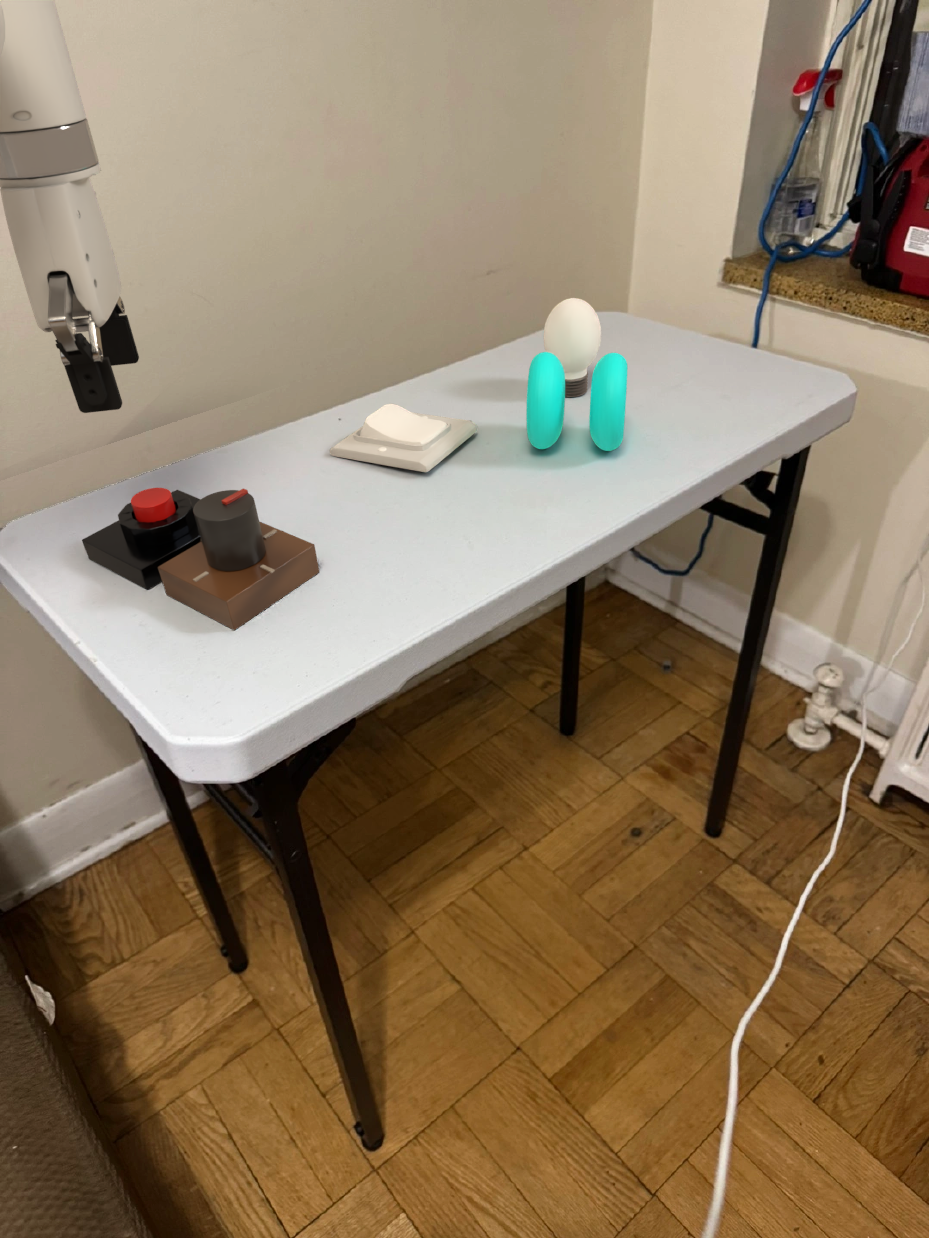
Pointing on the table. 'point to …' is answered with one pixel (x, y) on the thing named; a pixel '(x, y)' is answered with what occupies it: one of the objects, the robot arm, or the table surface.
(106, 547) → the switch block
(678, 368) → the table surface
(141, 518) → the power button
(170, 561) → the dimmer panel
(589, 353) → the light bulb
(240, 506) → the dimmer knob
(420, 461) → the light switch
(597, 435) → the donuts
